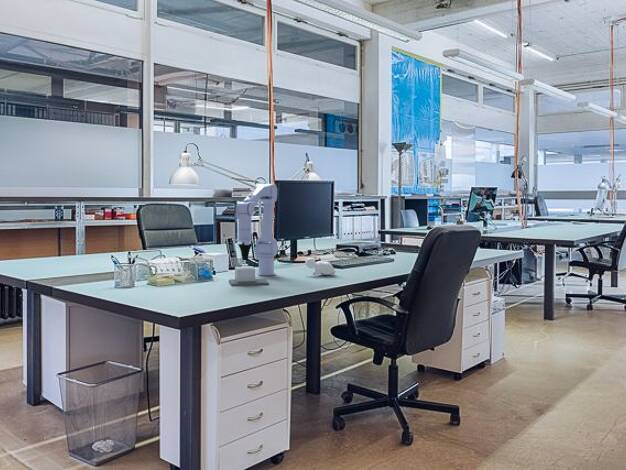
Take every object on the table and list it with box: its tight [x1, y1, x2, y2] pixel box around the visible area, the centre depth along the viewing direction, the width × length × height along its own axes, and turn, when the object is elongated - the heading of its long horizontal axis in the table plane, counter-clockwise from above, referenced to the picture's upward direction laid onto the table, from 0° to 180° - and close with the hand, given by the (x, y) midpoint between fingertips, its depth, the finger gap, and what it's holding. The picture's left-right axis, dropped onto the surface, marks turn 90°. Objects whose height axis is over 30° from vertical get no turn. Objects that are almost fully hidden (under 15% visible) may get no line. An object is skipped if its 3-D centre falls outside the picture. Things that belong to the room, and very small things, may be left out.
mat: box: [228, 278, 270, 287], centre depth 257 cm, size 12×16×1 cm
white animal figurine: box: [304, 257, 337, 278], centre depth 283 cm, size 9×8×15 cm
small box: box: [234, 265, 256, 282], centre depth 259 cm, size 8×6×10 cm
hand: (245, 259), depth 260 cm, fingers closed
